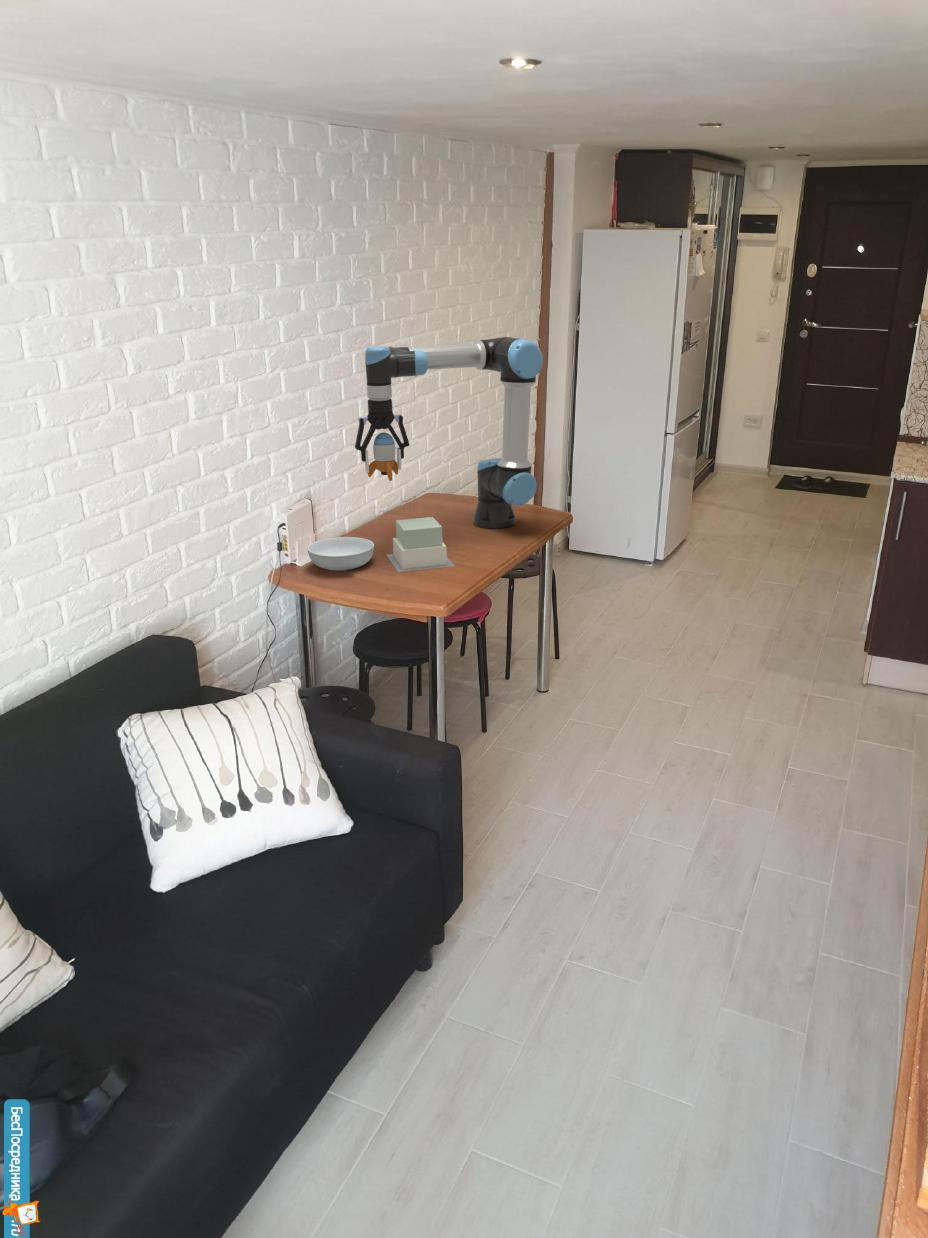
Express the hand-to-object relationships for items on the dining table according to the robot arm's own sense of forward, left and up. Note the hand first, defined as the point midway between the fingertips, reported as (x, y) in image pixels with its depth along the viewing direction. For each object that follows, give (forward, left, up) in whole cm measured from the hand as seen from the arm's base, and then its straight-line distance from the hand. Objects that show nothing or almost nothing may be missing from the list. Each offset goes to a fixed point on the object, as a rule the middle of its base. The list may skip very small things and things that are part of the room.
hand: (383, 470), depth 300 cm
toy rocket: (+1, 0, -2) cm, 2 cm away
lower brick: (-8, +14, -27) cm, 31 cm away
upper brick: (-8, +14, -21) cm, 26 cm away
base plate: (-8, +14, -28) cm, 32 cm away
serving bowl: (+16, +9, -28) cm, 33 cm away
